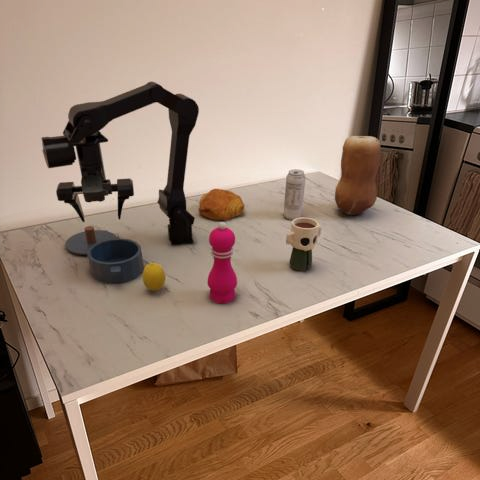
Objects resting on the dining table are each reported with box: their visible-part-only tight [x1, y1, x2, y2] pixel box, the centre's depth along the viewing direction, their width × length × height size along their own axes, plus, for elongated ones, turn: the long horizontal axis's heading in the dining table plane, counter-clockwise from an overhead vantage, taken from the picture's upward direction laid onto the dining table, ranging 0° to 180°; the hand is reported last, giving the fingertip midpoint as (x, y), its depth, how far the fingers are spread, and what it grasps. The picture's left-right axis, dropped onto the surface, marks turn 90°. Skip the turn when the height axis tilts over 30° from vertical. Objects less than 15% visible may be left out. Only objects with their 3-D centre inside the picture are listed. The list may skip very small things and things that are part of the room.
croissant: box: [198, 188, 245, 221], centre depth 151 cm, size 14×16×8 cm
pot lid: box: [64, 225, 117, 256], centre depth 132 cm, size 15×15×5 cm
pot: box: [86, 235, 145, 285], centre depth 121 cm, size 14×19×6 cm
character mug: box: [285, 216, 322, 271], centre depth 122 cm, size 11×7×13 cm, turn 118°
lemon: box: [141, 262, 166, 292], centre depth 113 cm, size 6×6×8 cm
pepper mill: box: [206, 221, 238, 304], centre depth 108 cm, size 7×7×20 cm
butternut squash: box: [334, 135, 382, 216], centre depth 147 cm, size 14×13×25 cm
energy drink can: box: [282, 168, 307, 221], centre depth 147 cm, size 6×6×15 cm
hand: (101, 220), depth 122 cm, fingers open, 9 cm apart
